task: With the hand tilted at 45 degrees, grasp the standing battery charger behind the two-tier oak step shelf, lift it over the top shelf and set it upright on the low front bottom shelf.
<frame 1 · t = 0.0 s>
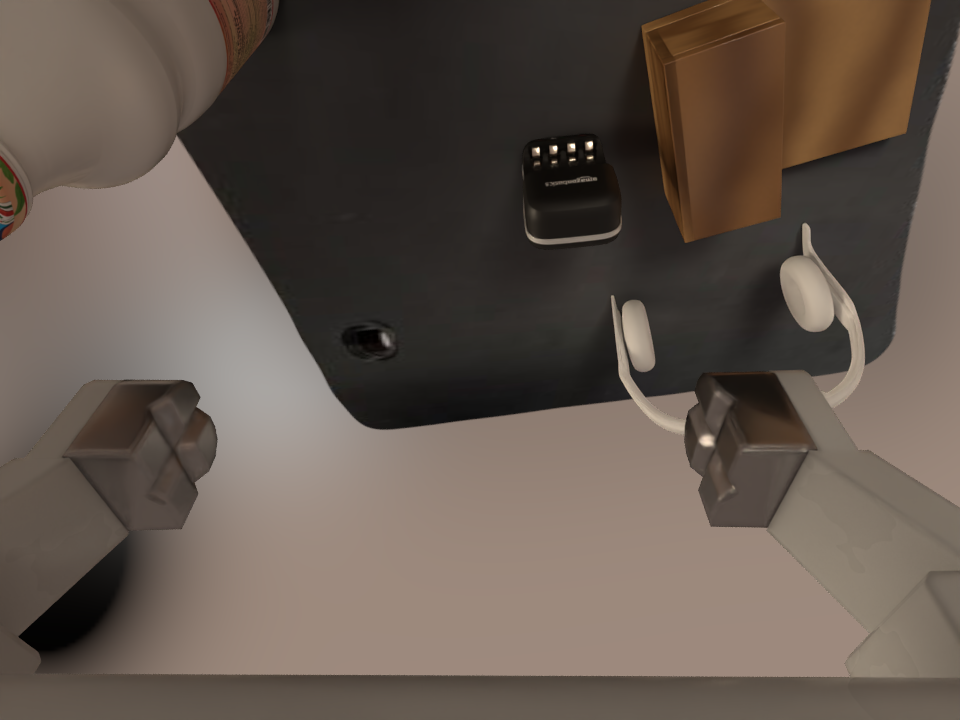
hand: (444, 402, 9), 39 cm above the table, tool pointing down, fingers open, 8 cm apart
headset: (703, 278, 56), on the table
battery charger: (561, 147, 47), on the table
step shelf: (776, 77, 42), on the table
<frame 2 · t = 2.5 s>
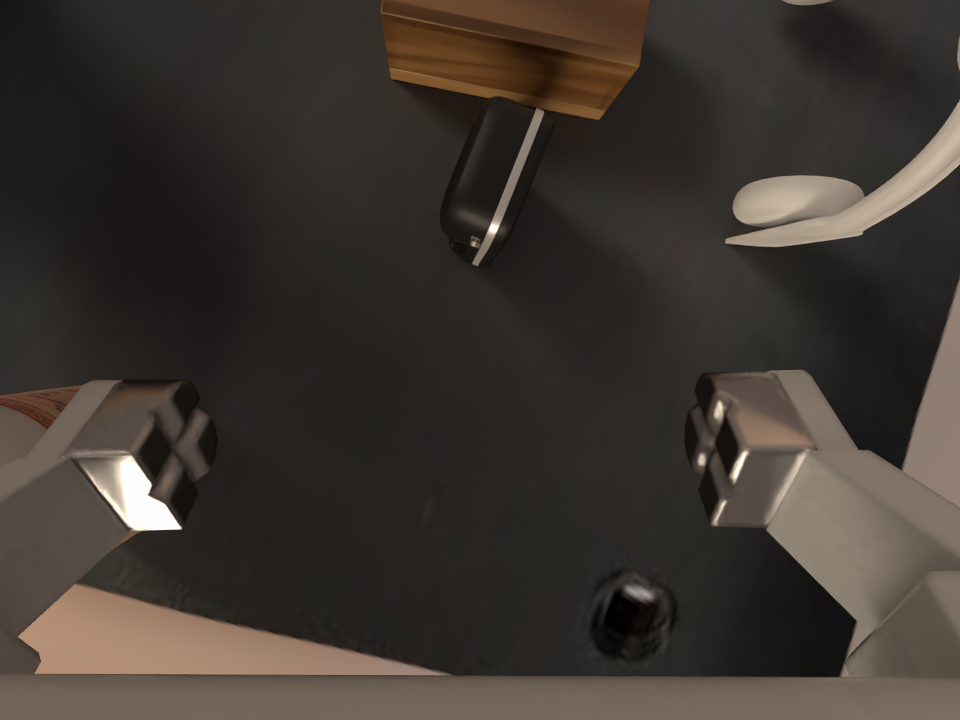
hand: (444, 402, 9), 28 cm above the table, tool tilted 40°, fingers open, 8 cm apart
fruit juice: (125, 453, 36), on the table
headset: (758, 115, 39), on the table
battery charger: (478, 213, 38), on the table
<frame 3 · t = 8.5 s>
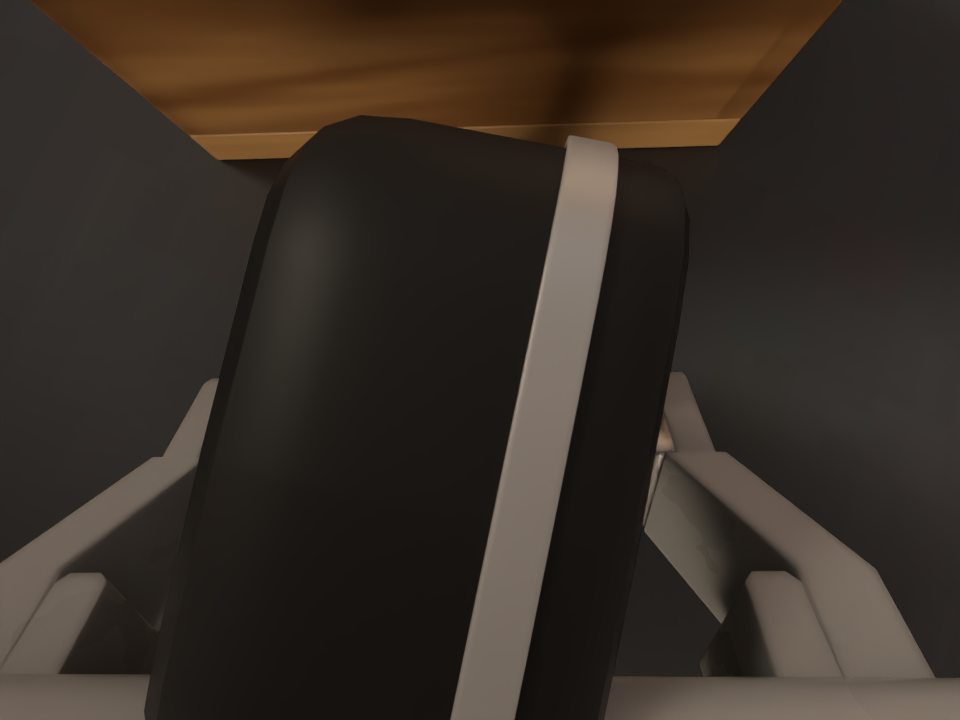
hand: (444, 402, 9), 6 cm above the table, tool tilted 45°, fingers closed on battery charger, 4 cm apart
battery charger: (468, 424, 15), on the table, touching gripper
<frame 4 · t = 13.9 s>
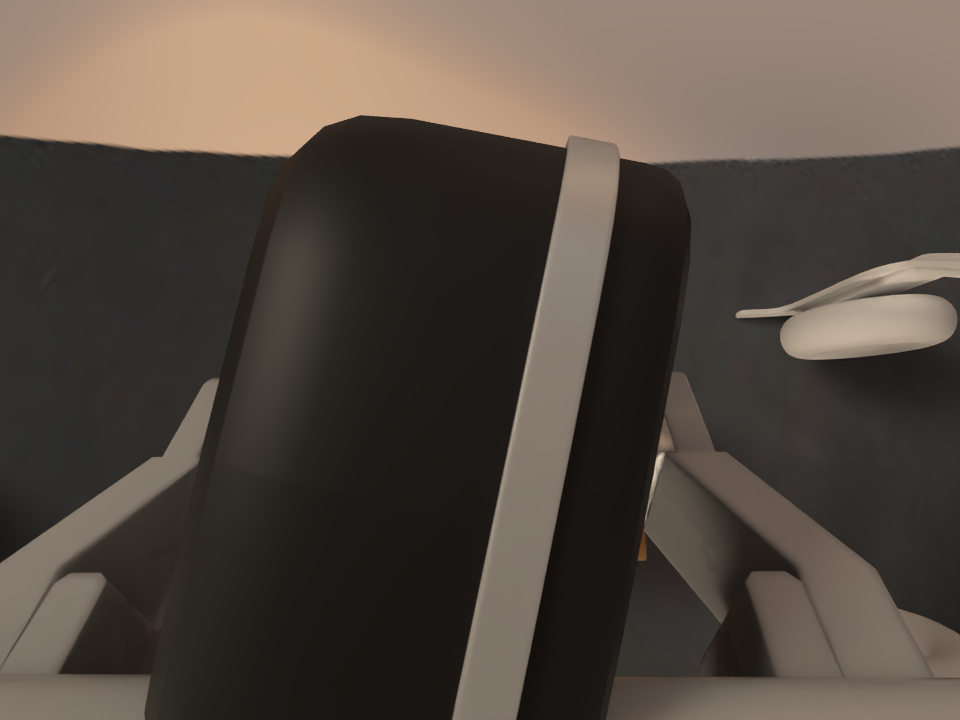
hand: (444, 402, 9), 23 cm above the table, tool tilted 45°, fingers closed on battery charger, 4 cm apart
headset: (809, 474, 32), on the table
battery charger: (467, 424, 15), point 17 cm above the table, touching gripper
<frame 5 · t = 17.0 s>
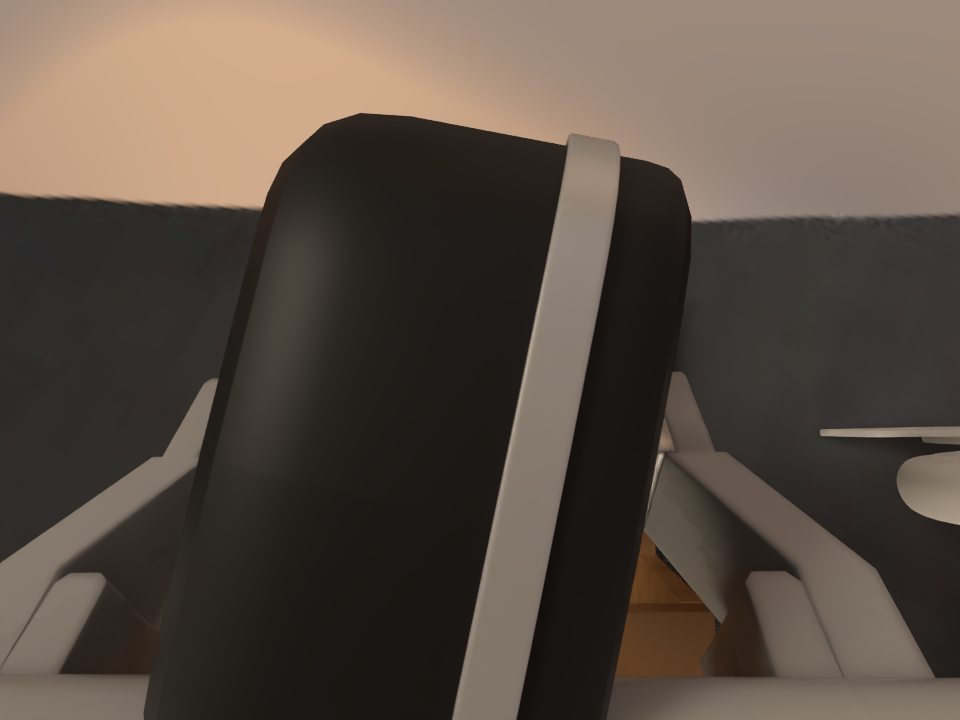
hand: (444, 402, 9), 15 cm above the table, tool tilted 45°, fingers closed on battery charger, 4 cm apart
headset: (920, 653, 23), on the table
battery charger: (467, 423, 15), point 9 cm above the table, touching gripper
step shelf: (477, 496, 24), on the table
when the fingers open (7 cm above the table, at t = 19.4 s): battery charger stays where it is, resting on step shelf.
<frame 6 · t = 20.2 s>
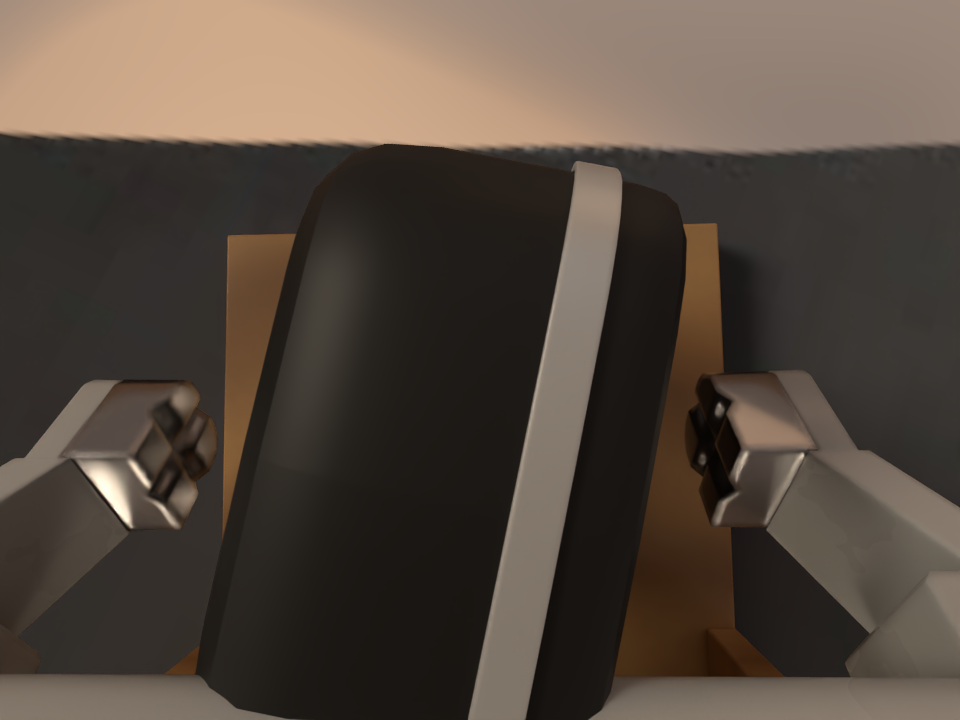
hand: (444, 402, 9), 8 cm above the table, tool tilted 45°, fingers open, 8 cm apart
battery charger: (474, 424, 16), point 1 cm above the table, touching step shelf
step shelf: (475, 538, 17), on the table
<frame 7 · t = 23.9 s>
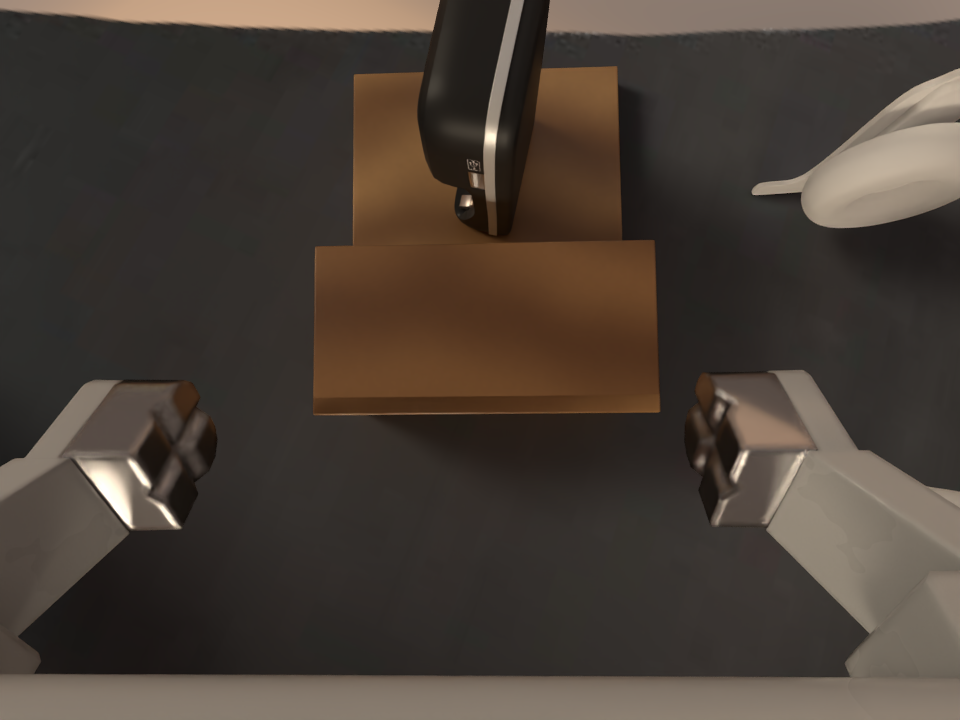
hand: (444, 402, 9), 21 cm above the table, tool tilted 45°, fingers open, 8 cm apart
headset: (828, 358, 30), on the table
battery charger: (487, 173, 30), point 1 cm above the table, touching step shelf
step shelf: (486, 244, 31), on the table
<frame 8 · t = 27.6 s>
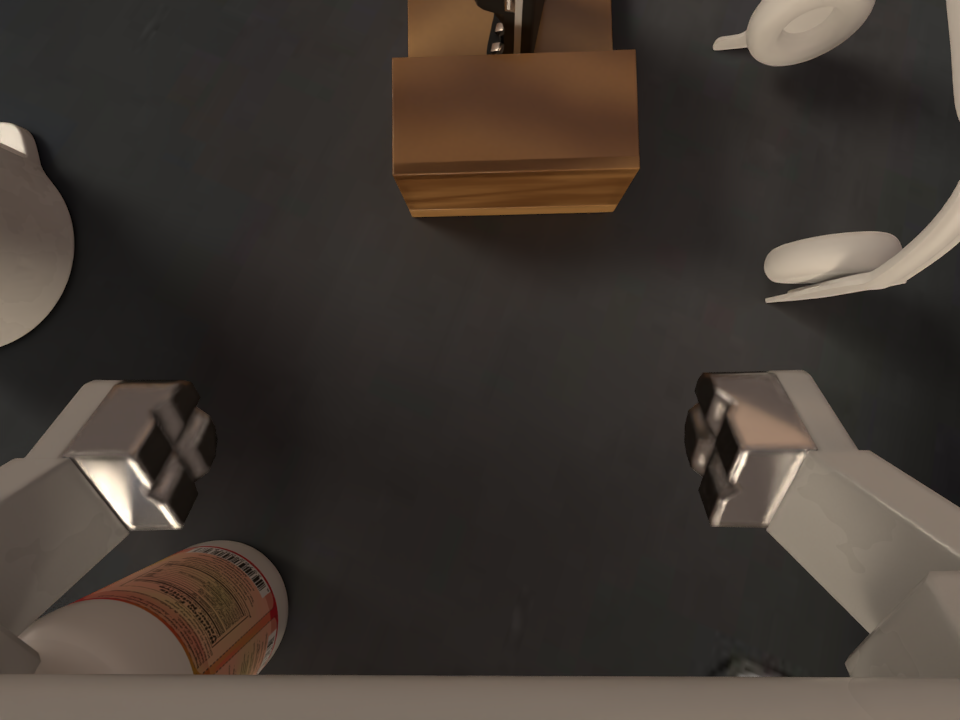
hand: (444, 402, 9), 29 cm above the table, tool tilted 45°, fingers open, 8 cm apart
fruit juice: (225, 606, 38), on the table
headset: (771, 173, 39), on the table
battery charger: (510, 31, 39), point 1 cm above the table, touching step shelf
step shelf: (510, 90, 40), on the table
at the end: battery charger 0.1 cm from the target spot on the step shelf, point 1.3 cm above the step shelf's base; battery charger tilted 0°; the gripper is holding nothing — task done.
